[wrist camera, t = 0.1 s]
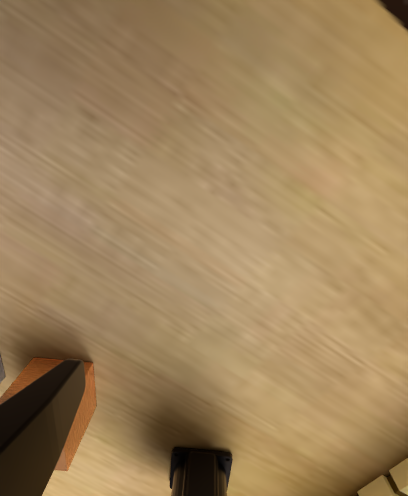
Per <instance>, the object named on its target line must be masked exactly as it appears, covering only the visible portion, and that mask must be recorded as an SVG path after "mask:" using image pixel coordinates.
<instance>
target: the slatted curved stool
mask: <svg viewBox="0 0 408 496" xmlns="http://www.w3.org/2000/svg"><path fill="white" fill-rule="evenodd" d="M389 472H390V474H391V475H390V476H389V477H385V476H384V475H381V476H380V477H378V478H377V479H375V480H374V481H372V482H371V483H369V484H368V485H366V486H365V487H363V488H362V489H360V490H359V491H357V492H358V495H359V496H408V458H407V459H405V460H404V461H402V462H401V463H399V464H398V465H396V466H395V467H393V468H392V469H390V470H389Z"/></svg>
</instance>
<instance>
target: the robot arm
mask: <svg viewBox="0 0 408 496" xmlns="http://www.w3.org/2000/svg"><path fill="white" fill-rule="evenodd" d="M85 386H86V380H85V368H84V362H83V361H82V360H79V359H66V360H64V361H62V362H61V363H60V364H58V365H57V366H55V367H54V368H52V369H51V370H49V371H48V372H47V373H45V374H44V375H42V376H41V377H39V378H38V379H36V380H35V381H33V382H32V383H31V384H29V385H28V386H26V387H25V388H23V389H22V390H20V391H19V392H18V393H16V394H15V395H13V396H12V397H10V398H9V399H7V400H6V401H5V402H3V403H2V404H0V496H42V494H43V492H44V490H45V488H46V485H47V483H48V481H49V479H50V477H51V475H52V473H53V471H54V469H55V467H56V464H57V462H58V460H59V458H60V456H61V453H62V450H63V448H64V445H65V443H66V440H67V437H68V435H69V432H70V429H71V427H72V424H73V421H74V418H75V416H76V413H77V410H78V408H79V405H80V402H81V400H82V397H83V394H84V391H85ZM231 465H232V454H231V453H228V452H217V451H206V450H195V449H184V448H174V449H173V450H172V456H171V473H170V488H171V489H172V494H171V496H227V487H228V482H229V476H230V471H231Z"/></svg>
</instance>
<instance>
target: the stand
mask: <svg viewBox="0 0 408 496" xmlns="http://www.w3.org/2000/svg"><path fill="white" fill-rule="evenodd" d="M4 378H5V373H4V369H3V364H2V360H1V356H0V383H1V381H2V380H3V379H4Z"/></svg>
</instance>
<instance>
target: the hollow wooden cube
mask: <svg viewBox="0 0 408 496" xmlns="http://www.w3.org/2000/svg"><path fill="white" fill-rule="evenodd" d="M62 361H64V360H58V359H47V358H36V357H34V358H33V359H32V360H31V362H30V363H29V364H28V365H27V366H26V368H25V369H24V370H23V371H22V372H21V374H20V375H19V376H18V377H17V378H16V380H15V381H14V382H13V383H12V384H11V386H10V387H9V388H8V389H7V390H6V392H5V393H4V394H3V395H2V396H1V398H0V404H2V403H3V402H5V401H6V400H7V399H9V398H10V397H12V396H13V395H15V394H16V393H18V392H19V391H20V390H22V389H23V388H25V387H26V386H28V385H29V384H31V383H32V382H33V381H35V380H36V379H38V378H39V377H41V376H42V375H44V374H45V373H47V372H48V371H49V370H51V369H52V368H54V367H55V366H57V365H58V364H60V363H61V362H62ZM84 368H85V380H86V386H85V391H84V394H83V397H82V400H81V402H80V405H79V408H78V410H77V413H76V416H75V418H74V421H73V424H72V427H71V429H70V432H69V435H68V437H67V440H66V443H65V445H64V448H63V450H62V453H61V456H60V458H59V460H58V462H57V464H56V467H55V469H54V470H61V471H68V469H69V467H70V464H71V462H72V460H73V458H74V455H75V453H76V451H77V449H78V446H79V444H80V442H81V440H82V437H83V435H84V433H85V431H86V428H87V426H88V424H89V422H90V419H91V417H92V415H93V413H94V410H95V408H96V406H97V405H96V393H95V381H94V368H93V363H91V362H84Z"/></svg>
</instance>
